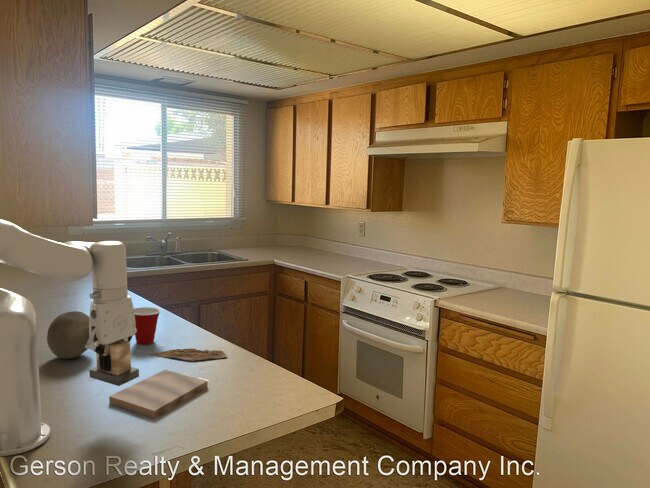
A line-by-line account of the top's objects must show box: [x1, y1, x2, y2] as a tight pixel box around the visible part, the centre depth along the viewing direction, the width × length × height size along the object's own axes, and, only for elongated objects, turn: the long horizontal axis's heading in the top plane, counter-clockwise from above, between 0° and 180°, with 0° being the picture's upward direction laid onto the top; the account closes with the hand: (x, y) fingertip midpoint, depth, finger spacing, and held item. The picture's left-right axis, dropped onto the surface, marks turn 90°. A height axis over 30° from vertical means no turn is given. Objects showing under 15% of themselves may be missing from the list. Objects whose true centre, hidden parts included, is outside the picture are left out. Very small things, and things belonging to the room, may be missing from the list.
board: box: [108, 369, 208, 419], centre depth 132 cm, size 20×16×2 cm
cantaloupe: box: [46, 310, 90, 360], centre depth 156 cm, size 14×14×15 cm
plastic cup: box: [133, 306, 162, 346], centre depth 172 cm, size 11×11×12 cm
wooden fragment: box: [150, 348, 228, 362], centre depth 161 cm, size 26×11×1 cm, turn 85°
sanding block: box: [88, 340, 140, 387], centre depth 117 cm, size 6×10×9 cm, turn 64°
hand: (113, 365), depth 117 cm, fingers closed on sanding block, 4 cm apart
